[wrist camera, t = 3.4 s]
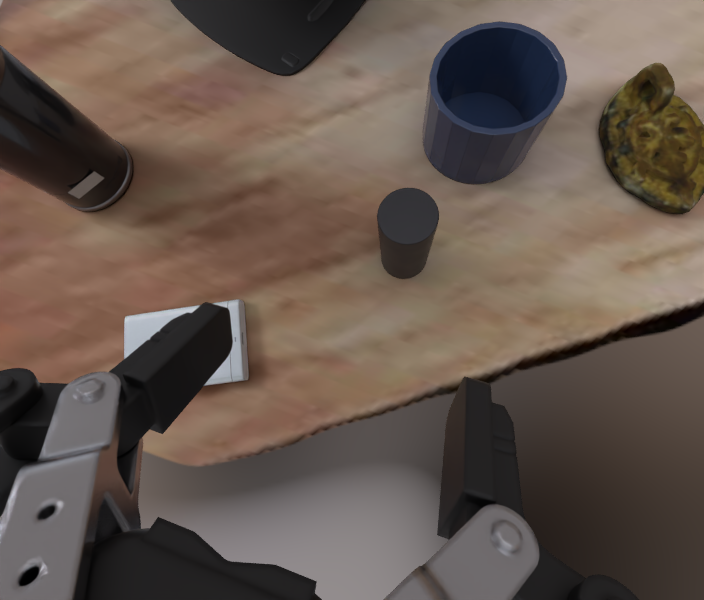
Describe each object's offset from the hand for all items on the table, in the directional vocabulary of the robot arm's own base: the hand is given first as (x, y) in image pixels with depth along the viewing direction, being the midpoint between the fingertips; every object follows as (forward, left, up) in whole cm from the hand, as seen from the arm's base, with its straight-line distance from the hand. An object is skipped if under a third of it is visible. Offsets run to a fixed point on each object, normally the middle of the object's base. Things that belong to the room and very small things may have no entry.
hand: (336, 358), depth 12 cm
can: (+4, +27, -23) cm, 36 cm away
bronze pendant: (+21, +29, -24) cm, 43 cm away
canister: (0, +12, -23) cm, 26 cm away
